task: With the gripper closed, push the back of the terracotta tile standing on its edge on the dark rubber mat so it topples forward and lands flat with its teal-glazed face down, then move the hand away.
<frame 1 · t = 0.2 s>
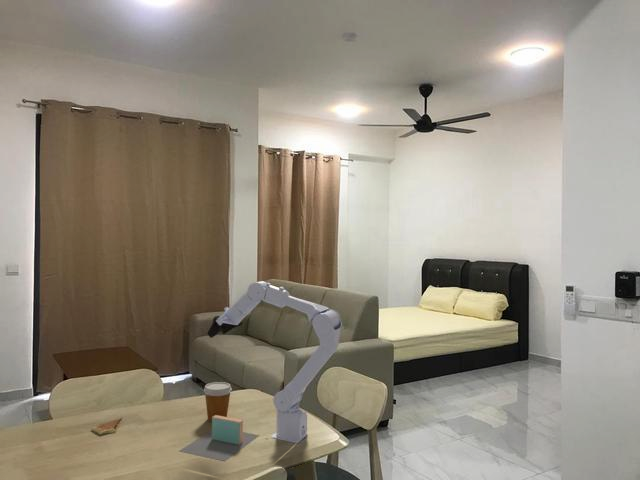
hand: (215, 333, 170), 31 cm above the table, tool tilted 45°, fingers open, 7 cm apart
pizza slice: (106, 429, 164), on the table
terracotta tile: (227, 440, 155), resting on rubber mat
disposable coffee cup: (217, 420, 173), on the table
rubber mat: (220, 444, 153), on the table
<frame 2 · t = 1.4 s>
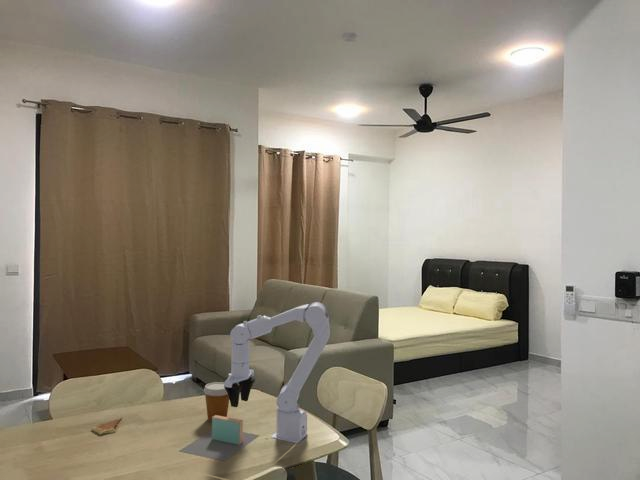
hand: (239, 403, 161), 10 cm above the table, tool pointing down, fingers open, 6 cm apart
nothing on the table moved.
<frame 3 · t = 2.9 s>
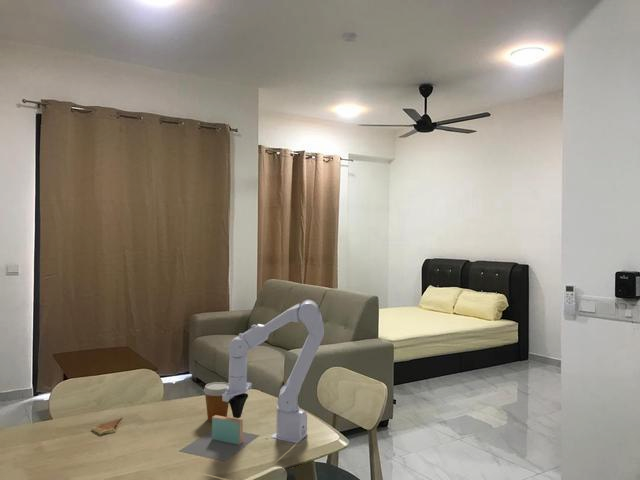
hand: (237, 417, 160), 6 cm above the table, tool pointing down, fingers closed
nothing on the table moved.
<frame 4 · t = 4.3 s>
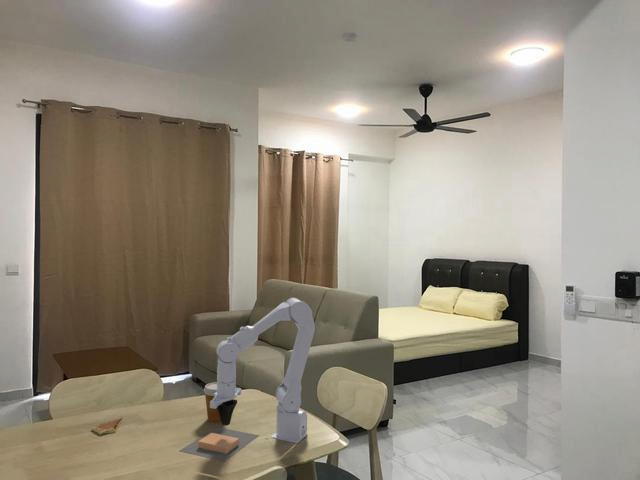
hand: (225, 424, 154), 6 cm above the table, tool pointing down, fingers closed
terracotta tile: (225, 438, 154), point 2 cm above the table, tilted 90°, touching rubber mat
everything else where it was.
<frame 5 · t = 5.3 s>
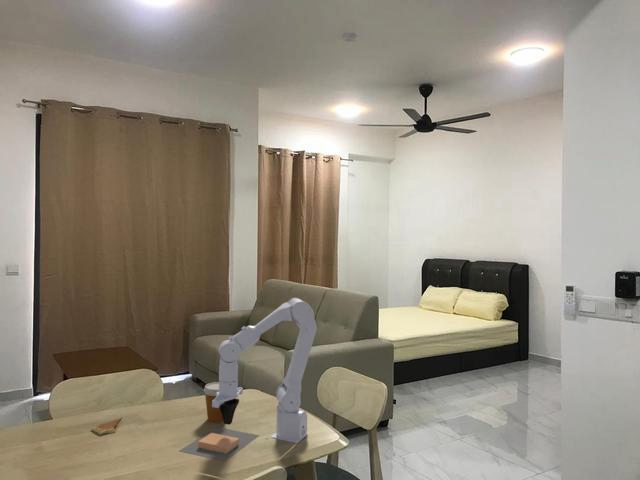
hand: (227, 423, 155), 6 cm above the table, tool pointing down, fingers closed
nothing on the table moved.
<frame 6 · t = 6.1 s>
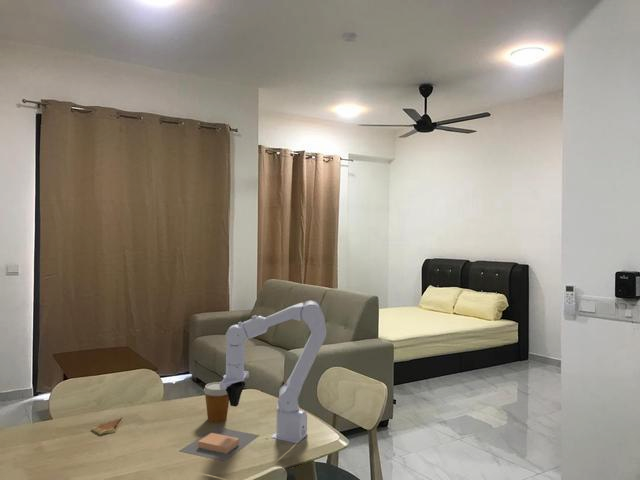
hand: (234, 405, 159), 10 cm above the table, tool pointing down, fingers closed
nothing on the table moved.
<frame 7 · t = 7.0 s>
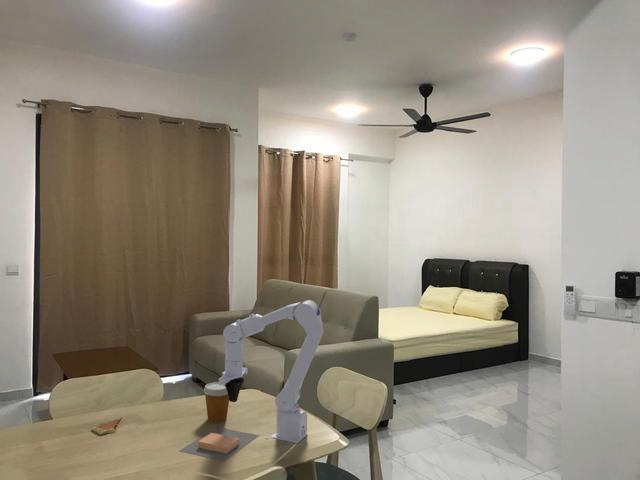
hand: (233, 401, 163), 10 cm above the table, tool pointing down, fingers closed
nothing on the table moved.
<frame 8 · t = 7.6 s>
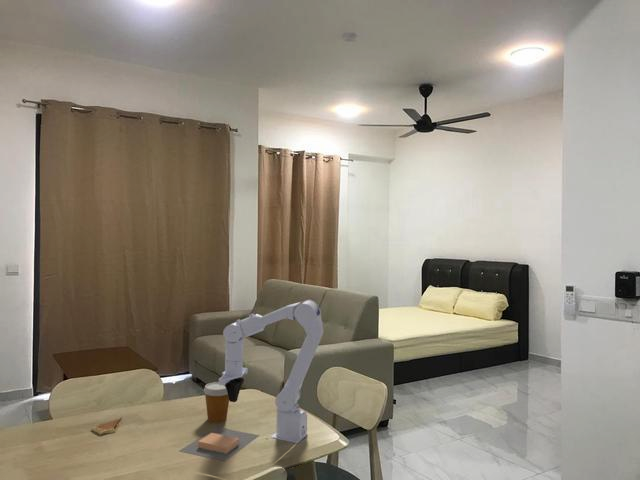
hand: (233, 401, 163), 10 cm above the table, tool pointing down, fingers closed
nothing on the table moved.
at the end: terracotta tile tilted 90°; terracotta tile point 1.6 cm above the table; terracotta tile inside the target area (4.0 cm from its centre), point 1.6 cm above the table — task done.
